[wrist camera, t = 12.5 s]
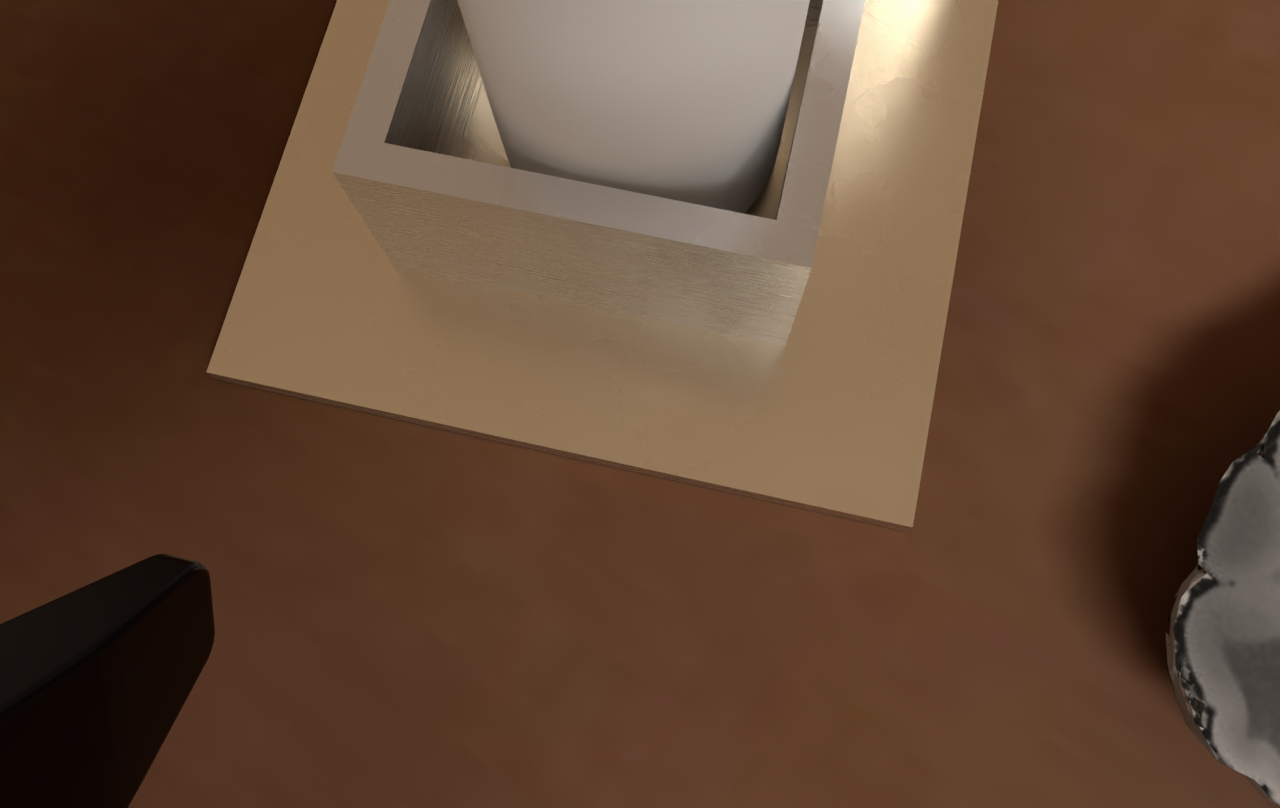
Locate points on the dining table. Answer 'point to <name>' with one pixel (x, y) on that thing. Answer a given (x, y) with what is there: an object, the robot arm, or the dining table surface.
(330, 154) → the cup bracket
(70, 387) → the dining table surface
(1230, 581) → the brain slice
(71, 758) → the robot arm
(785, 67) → the can
